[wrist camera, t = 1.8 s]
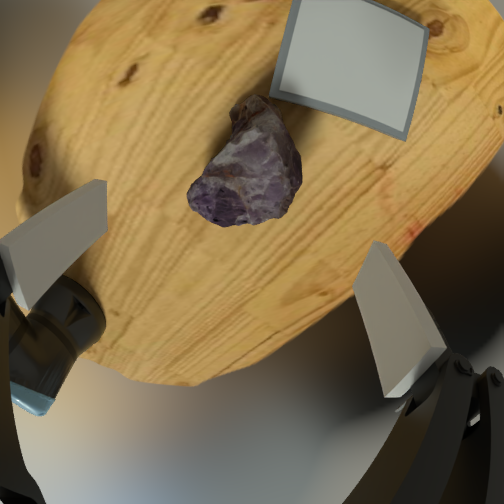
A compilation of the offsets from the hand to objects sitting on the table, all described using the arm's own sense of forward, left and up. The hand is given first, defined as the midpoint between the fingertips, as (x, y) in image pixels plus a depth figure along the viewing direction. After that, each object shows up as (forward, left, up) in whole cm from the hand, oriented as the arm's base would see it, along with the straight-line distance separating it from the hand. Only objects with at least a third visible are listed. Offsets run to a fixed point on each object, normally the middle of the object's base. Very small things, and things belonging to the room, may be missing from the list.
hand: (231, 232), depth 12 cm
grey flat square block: (+7, +14, -18) cm, 23 cm away
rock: (0, 0, -18) cm, 18 cm away
